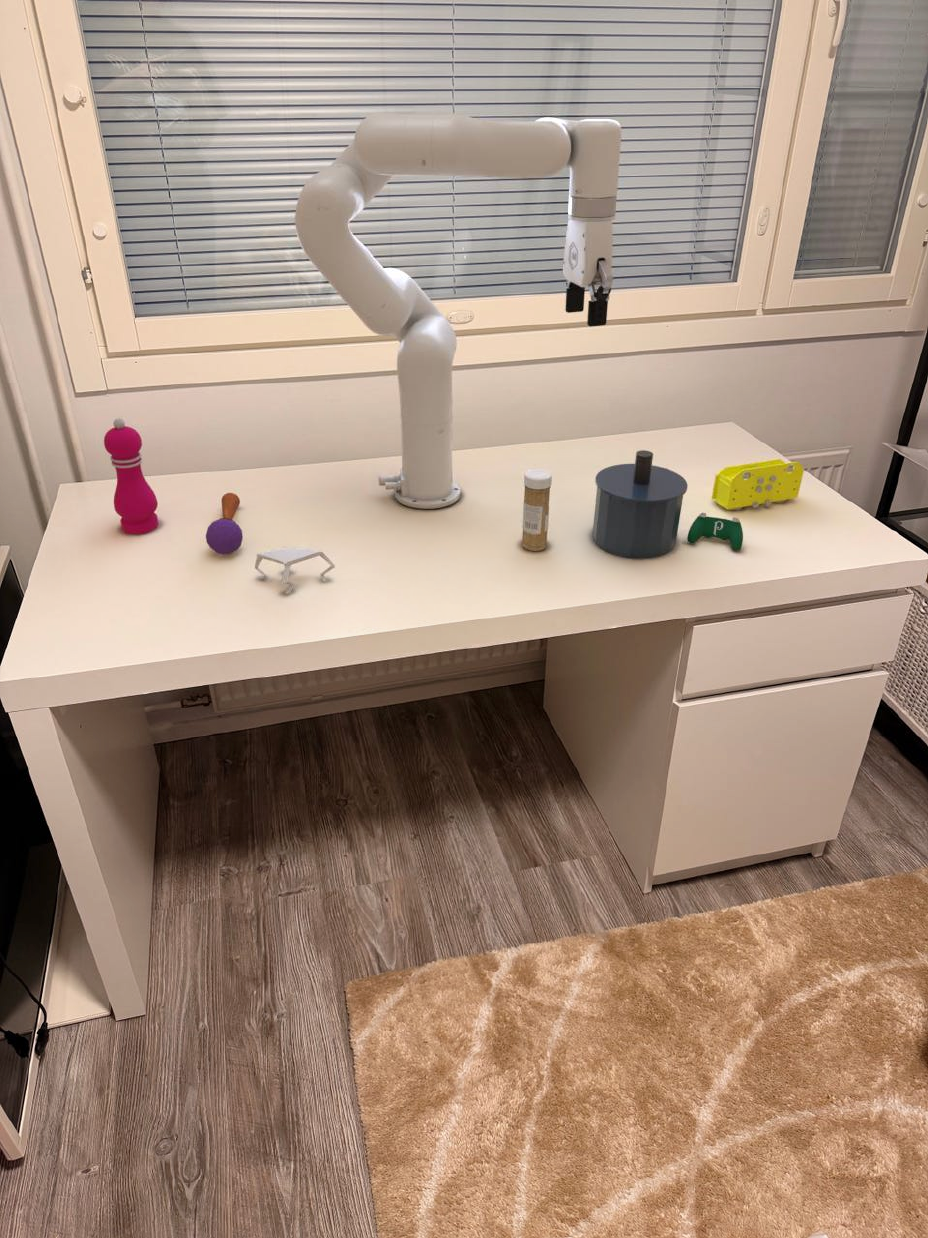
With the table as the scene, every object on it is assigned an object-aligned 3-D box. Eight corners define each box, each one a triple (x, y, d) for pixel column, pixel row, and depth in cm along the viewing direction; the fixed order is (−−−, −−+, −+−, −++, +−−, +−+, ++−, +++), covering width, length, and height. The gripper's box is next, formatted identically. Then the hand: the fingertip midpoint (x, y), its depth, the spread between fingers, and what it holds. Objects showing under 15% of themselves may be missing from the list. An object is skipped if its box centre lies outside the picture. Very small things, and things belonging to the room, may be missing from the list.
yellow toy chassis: (727, 514, 164) (735, 472, 159) (709, 502, 168) (717, 461, 164) (798, 502, 168) (807, 461, 164) (779, 490, 173) (788, 450, 168)
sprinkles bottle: (552, 545, 153) (557, 473, 145) (534, 554, 150) (539, 481, 143) (533, 537, 155) (537, 465, 148) (515, 545, 153) (518, 472, 145)
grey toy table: (264, 600, 136) (261, 573, 134) (255, 575, 143) (251, 548, 140) (340, 587, 140) (338, 559, 137) (327, 563, 147) (325, 536, 144)
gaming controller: (739, 556, 154) (745, 524, 155) (741, 549, 150) (747, 516, 151) (686, 547, 156) (692, 516, 157) (686, 540, 153) (693, 508, 154)
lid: (606, 508, 143) (610, 473, 139) (586, 470, 155) (589, 437, 152) (699, 504, 144) (704, 470, 141) (671, 467, 157) (675, 435, 154)
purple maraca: (248, 487, 162) (242, 528, 145) (246, 518, 165) (240, 561, 147) (214, 483, 161) (205, 524, 143) (213, 514, 163) (203, 558, 146)
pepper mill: (170, 522, 159) (150, 415, 148) (142, 539, 153) (119, 428, 143) (139, 514, 161) (117, 408, 151) (110, 530, 156) (85, 421, 145)
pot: (603, 560, 148) (609, 503, 143) (584, 522, 161) (589, 468, 155) (686, 557, 150) (695, 500, 144) (661, 519, 162) (669, 465, 156)
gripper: (550, 202, 147) (546, 308, 156) (591, 217, 132) (584, 332, 142) (592, 200, 148) (586, 305, 157) (637, 214, 134) (627, 329, 143)
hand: (585, 318), depth 150 cm, fingers open, 9 cm apart
